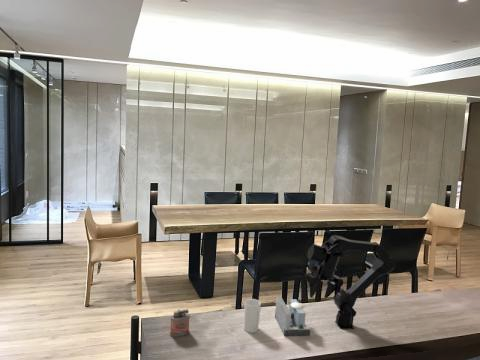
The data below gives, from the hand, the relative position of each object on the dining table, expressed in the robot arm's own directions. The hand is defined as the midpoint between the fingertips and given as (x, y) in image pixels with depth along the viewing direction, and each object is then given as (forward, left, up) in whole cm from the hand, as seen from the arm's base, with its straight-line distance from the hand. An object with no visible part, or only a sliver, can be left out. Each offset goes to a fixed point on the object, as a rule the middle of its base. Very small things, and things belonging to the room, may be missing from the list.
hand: (318, 297), depth 177 cm
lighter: (+59, +4, -13) cm, 61 cm away
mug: (+29, 0, -13) cm, 32 cm away
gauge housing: (+11, 0, -13) cm, 17 cm away
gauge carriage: (+9, +1, -13) cm, 16 cm away
